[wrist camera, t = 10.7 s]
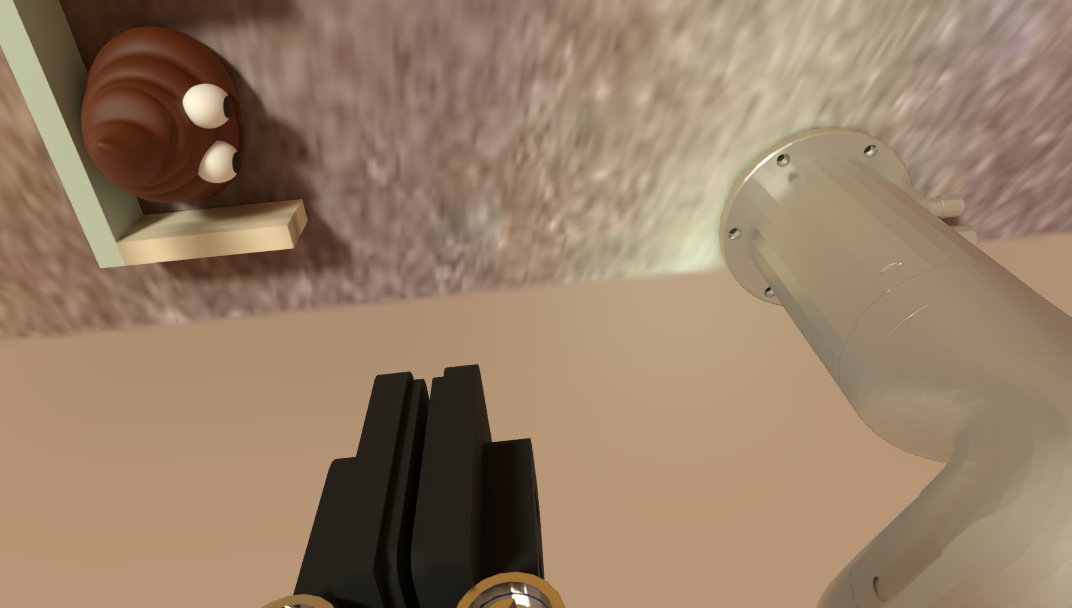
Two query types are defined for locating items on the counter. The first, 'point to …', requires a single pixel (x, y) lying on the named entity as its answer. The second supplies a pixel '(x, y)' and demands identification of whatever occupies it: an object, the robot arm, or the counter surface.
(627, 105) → the counter surface
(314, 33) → the counter surface
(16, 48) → the seating channel
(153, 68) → the poop emoji
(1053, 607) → the robot arm
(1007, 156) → the counter surface
